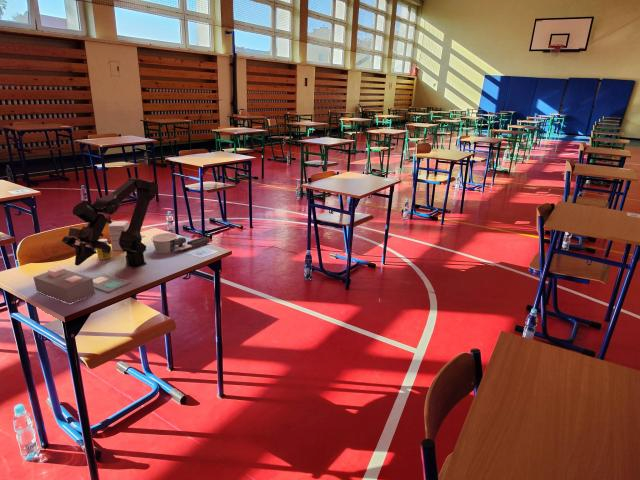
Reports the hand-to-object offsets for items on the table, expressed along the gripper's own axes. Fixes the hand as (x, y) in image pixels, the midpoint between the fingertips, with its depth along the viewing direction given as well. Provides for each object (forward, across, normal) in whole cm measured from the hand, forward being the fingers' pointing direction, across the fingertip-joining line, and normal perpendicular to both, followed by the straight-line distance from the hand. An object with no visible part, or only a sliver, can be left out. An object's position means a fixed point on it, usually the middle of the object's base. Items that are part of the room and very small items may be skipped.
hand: (76, 265), depth 156 cm
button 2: (+8, 0, +4) cm, 9 cm away
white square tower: (-22, -21, +39) cm, 50 cm away
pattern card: (+2, +3, +15) cm, 15 cm away
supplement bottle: (-11, -16, +28) cm, 34 cm away
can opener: (-31, +10, +49) cm, 59 cm away
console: (+10, -5, +6) cm, 13 cm away
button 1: (+5, -10, +4) cm, 12 cm away
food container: (-26, 0, +43) cm, 50 cm away
